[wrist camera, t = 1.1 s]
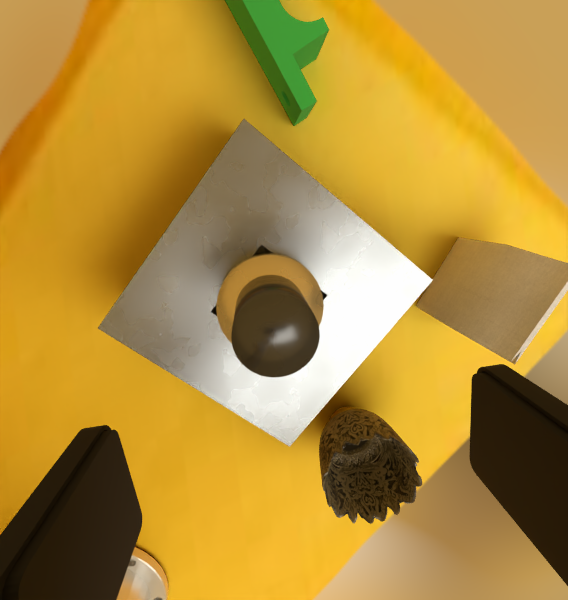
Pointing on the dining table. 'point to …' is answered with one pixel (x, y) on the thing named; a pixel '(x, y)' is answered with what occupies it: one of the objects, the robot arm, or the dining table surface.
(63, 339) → the dining table surface
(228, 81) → the dining table surface
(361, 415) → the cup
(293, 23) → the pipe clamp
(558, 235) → the dining table surface
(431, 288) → the tan milk carton
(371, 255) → the plate
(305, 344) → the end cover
